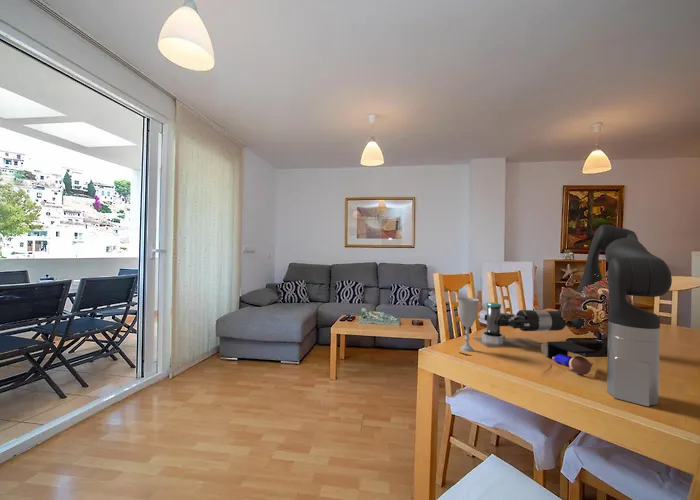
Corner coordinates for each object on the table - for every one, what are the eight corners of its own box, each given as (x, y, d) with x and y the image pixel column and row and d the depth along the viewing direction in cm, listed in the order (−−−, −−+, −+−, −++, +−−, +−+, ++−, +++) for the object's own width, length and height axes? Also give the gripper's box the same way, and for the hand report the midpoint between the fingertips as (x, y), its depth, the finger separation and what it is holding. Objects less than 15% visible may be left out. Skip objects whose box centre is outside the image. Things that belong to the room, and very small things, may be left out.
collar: (500, 346, 109) (500, 338, 109) (478, 342, 114) (478, 333, 114) (507, 342, 114) (507, 334, 114) (485, 338, 120) (486, 330, 120)
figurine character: (539, 363, 101) (575, 376, 86) (538, 338, 102) (573, 348, 87) (559, 363, 101) (599, 377, 86) (558, 339, 102) (597, 348, 87)
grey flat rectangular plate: (527, 341, 121) (527, 338, 121) (549, 351, 109) (549, 347, 109) (471, 340, 120) (471, 337, 120) (487, 350, 108) (487, 347, 108)
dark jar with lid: (497, 345, 111) (498, 305, 111) (483, 342, 114) (484, 303, 114) (502, 342, 114) (503, 303, 114) (488, 339, 118) (489, 302, 118)
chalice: (451, 350, 107) (452, 297, 107) (468, 349, 109) (469, 297, 109) (465, 357, 100) (466, 301, 100) (482, 355, 102) (484, 300, 102)
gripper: (522, 306, 122) (481, 306, 121) (547, 314, 108) (501, 313, 107) (521, 326, 122) (481, 325, 121) (546, 336, 108) (501, 335, 107)
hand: (490, 320), depth 114 cm, fingers open, 8 cm apart
